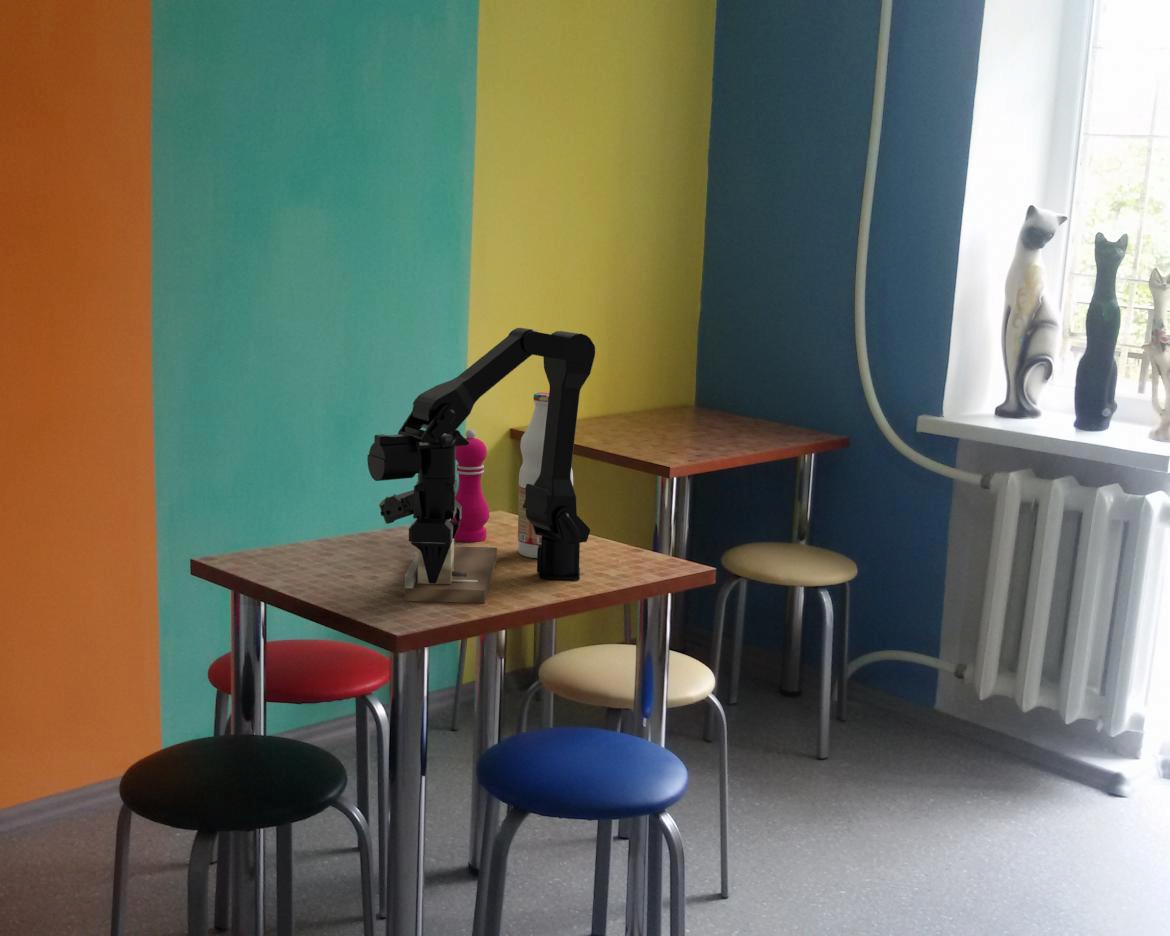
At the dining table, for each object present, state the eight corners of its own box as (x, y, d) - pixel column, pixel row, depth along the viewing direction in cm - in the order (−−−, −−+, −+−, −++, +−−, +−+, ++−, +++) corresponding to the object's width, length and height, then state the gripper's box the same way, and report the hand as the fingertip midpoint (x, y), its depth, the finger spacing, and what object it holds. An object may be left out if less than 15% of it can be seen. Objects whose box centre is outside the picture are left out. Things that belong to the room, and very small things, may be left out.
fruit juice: (506, 553, 239) (509, 393, 235) (539, 544, 247) (543, 389, 242) (549, 562, 234) (553, 398, 229) (582, 553, 242) (586, 393, 237)
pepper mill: (451, 543, 246) (452, 432, 243) (447, 534, 253) (448, 426, 250) (491, 542, 248) (493, 432, 244) (486, 533, 255) (487, 426, 251)
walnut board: (496, 558, 236) (497, 536, 235) (484, 603, 208) (484, 577, 207) (426, 557, 236) (426, 534, 235) (404, 600, 208) (404, 575, 207)
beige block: (467, 576, 215) (468, 538, 214) (465, 584, 210) (465, 546, 209) (421, 575, 215) (421, 537, 214) (417, 583, 210) (417, 544, 209)
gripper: (392, 463, 219) (391, 559, 222) (374, 485, 200) (374, 589, 203) (462, 465, 219) (461, 561, 222) (450, 487, 201) (449, 591, 203)
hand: (435, 575), depth 212 cm, fingers open, 9 cm apart
